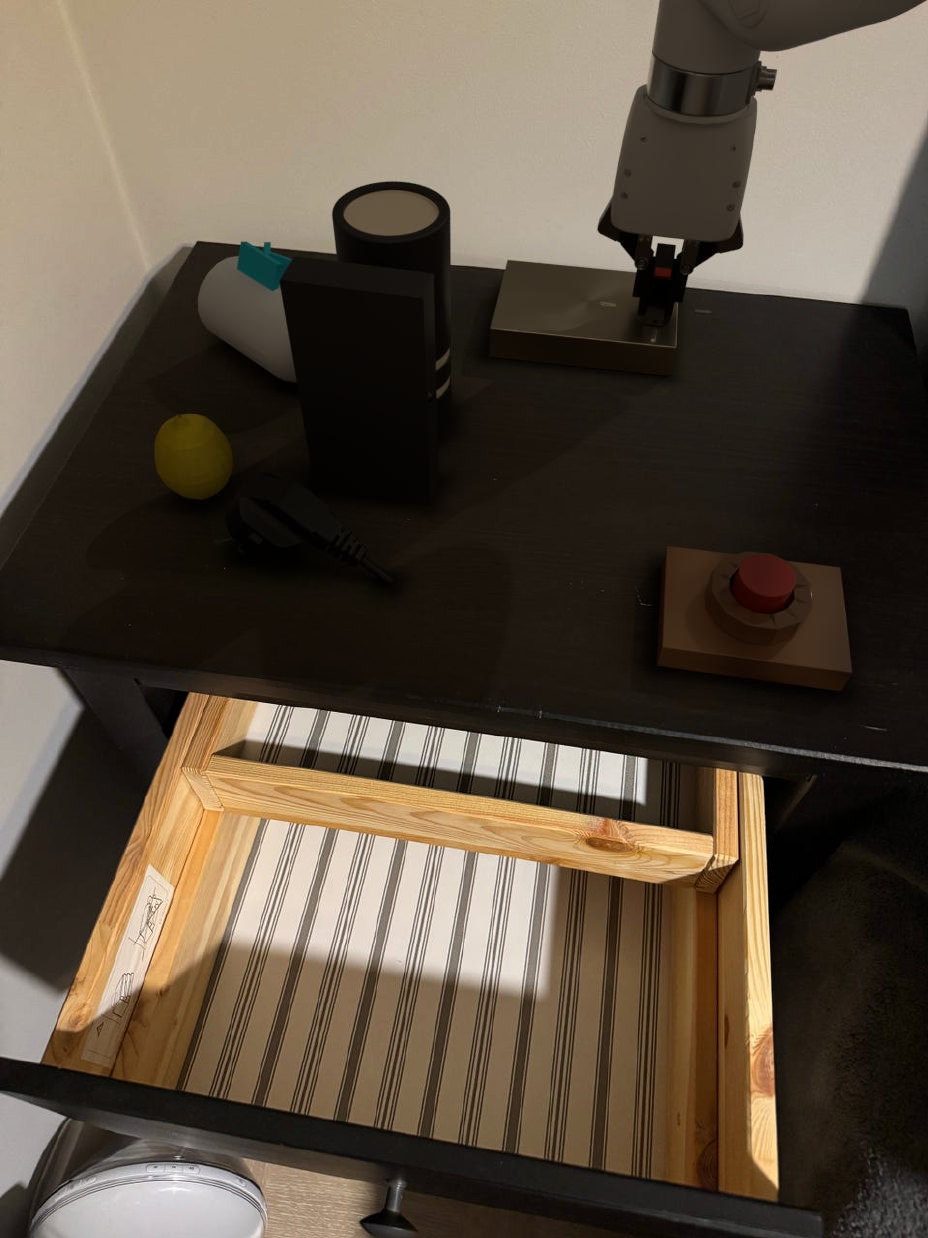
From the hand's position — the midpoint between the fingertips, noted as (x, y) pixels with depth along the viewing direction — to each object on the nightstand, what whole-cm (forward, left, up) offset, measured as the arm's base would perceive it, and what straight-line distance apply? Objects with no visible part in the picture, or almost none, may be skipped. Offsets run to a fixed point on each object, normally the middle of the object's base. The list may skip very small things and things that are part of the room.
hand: (655, 303), depth 80 cm
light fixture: (+20, +18, -4) cm, 27 cm away
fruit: (+33, +27, -4) cm, 43 cm away
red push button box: (-8, +32, -3) cm, 33 cm away
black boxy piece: (0, 0, 0) cm, 0 cm away
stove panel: (+5, 0, -3) cm, 6 cm away
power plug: (+23, +32, -4) cm, 39 cm away
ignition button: (-8, +32, 0) cm, 33 cm away
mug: (+31, +8, -4) cm, 32 cm away
